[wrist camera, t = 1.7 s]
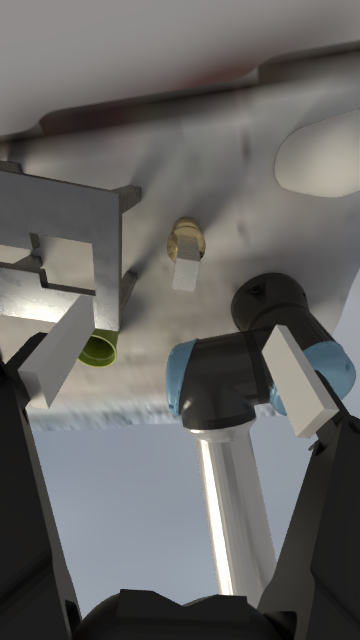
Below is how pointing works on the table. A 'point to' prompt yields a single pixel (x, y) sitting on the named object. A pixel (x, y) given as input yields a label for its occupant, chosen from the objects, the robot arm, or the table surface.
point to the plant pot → (100, 349)
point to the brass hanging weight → (186, 253)
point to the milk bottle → (322, 157)
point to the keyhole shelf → (68, 223)
